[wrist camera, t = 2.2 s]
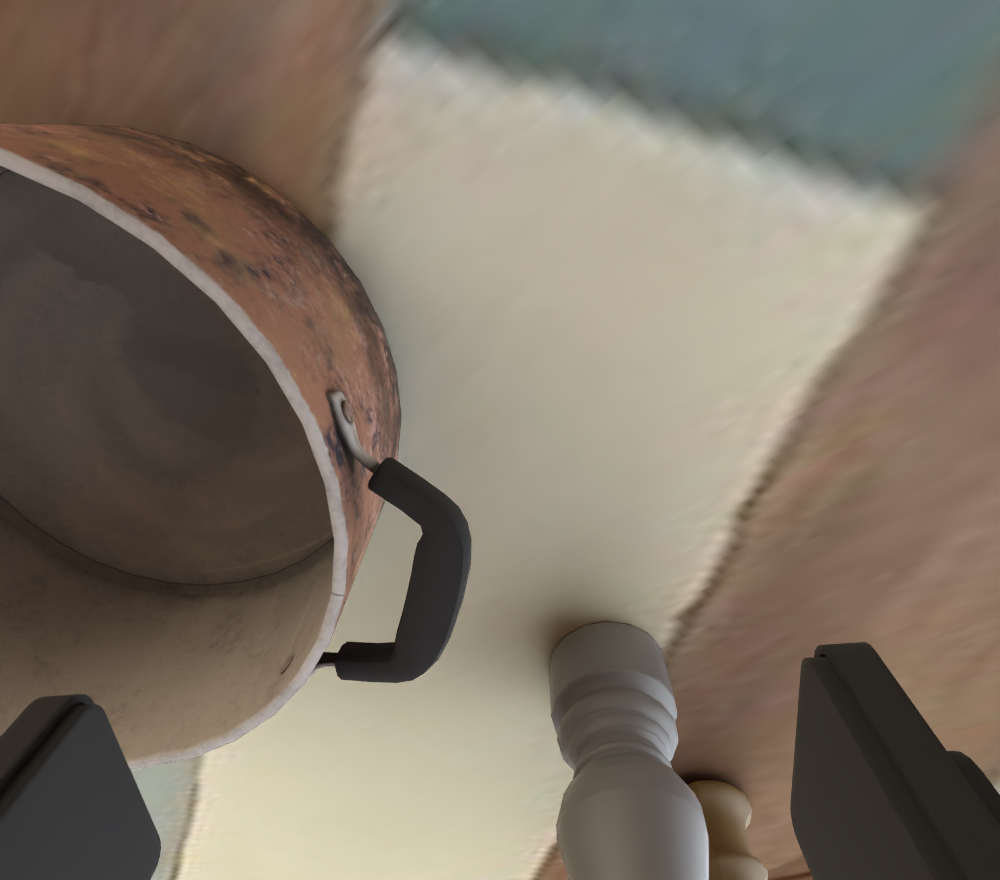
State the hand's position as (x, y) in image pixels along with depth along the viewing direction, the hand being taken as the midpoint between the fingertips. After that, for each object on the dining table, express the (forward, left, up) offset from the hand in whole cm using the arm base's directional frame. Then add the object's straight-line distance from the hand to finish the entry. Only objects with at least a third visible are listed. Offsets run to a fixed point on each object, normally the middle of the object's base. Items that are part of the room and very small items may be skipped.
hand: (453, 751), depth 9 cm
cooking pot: (+16, +1, -22) cm, 27 cm away
